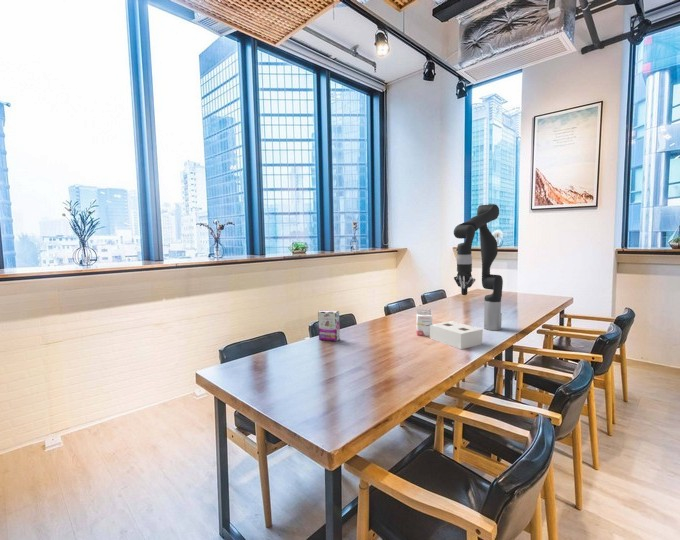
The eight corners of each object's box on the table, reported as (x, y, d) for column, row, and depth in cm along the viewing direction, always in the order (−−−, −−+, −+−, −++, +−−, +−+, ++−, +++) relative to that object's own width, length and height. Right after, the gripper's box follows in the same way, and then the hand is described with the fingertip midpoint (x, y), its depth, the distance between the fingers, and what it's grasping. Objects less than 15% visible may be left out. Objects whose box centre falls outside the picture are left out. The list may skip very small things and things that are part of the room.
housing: (450, 334, 206) (450, 320, 205) (482, 344, 187) (482, 329, 186) (430, 338, 198) (430, 324, 197) (461, 349, 179) (461, 333, 178)
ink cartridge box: (417, 335, 204) (417, 310, 203) (416, 333, 209) (416, 309, 208) (432, 335, 203) (432, 310, 202) (431, 333, 208) (431, 309, 207)
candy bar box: (340, 339, 201) (339, 310, 199) (336, 341, 196) (336, 312, 195) (322, 337, 205) (321, 309, 203) (318, 339, 200) (317, 311, 199)
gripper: (479, 263, 183) (479, 295, 185) (459, 261, 195) (459, 292, 197) (469, 264, 180) (469, 297, 182) (449, 262, 191) (449, 294, 193)
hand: (464, 295), depth 189 cm, fingers closed
